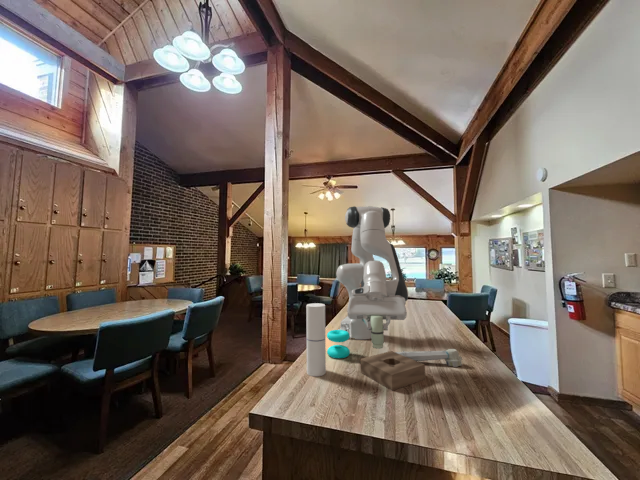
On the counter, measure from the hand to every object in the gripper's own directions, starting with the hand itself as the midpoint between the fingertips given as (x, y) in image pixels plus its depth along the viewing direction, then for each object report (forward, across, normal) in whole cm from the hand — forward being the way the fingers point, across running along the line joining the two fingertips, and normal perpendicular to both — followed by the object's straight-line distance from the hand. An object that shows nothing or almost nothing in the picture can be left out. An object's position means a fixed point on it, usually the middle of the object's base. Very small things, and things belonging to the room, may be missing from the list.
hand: (377, 329), depth 92 cm
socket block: (+6, -5, -21) cm, 22 cm away
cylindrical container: (+7, +23, -20) cm, 31 cm away
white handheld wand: (-3, -20, -31) cm, 37 cm away
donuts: (-6, +16, -33) cm, 37 cm away
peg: (+4, 0, -5) cm, 6 cm away
